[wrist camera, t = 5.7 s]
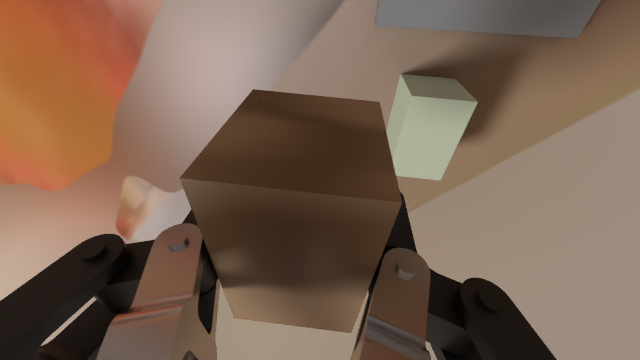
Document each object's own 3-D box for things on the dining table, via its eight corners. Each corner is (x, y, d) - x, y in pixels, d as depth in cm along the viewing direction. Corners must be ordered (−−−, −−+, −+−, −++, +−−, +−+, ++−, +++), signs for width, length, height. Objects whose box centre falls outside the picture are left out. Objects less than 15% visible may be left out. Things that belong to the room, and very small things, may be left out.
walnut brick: (267, 219, 13) (234, 318, 10) (253, 89, 9) (179, 178, 5) (350, 228, 13) (350, 332, 9) (379, 101, 9) (402, 202, 5)
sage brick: (382, 144, 26) (388, 174, 22) (400, 73, 21) (411, 95, 17) (426, 148, 25) (440, 180, 22) (454, 78, 21) (478, 101, 17)
